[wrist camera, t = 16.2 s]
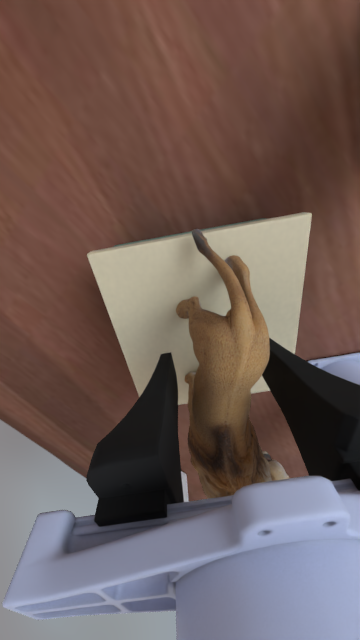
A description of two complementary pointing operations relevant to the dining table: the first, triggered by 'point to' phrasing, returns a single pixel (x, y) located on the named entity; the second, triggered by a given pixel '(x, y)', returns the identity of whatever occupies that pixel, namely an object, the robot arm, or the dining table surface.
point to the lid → (199, 290)
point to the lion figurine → (226, 383)
